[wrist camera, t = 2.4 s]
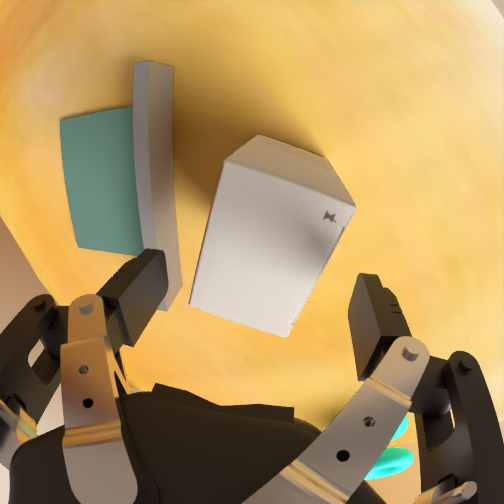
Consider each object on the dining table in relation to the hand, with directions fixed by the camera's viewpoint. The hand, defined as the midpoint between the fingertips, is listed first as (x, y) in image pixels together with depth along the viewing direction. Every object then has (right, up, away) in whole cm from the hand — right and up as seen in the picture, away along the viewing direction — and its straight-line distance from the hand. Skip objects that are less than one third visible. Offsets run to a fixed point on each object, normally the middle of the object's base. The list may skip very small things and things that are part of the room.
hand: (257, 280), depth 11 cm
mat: (-14, +7, +12) cm, 19 cm away
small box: (+2, +6, +10) cm, 12 cm away
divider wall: (-7, +7, +11) cm, 15 cm away
